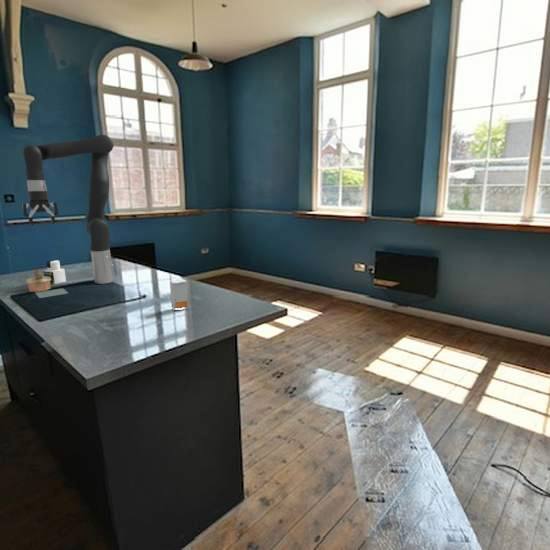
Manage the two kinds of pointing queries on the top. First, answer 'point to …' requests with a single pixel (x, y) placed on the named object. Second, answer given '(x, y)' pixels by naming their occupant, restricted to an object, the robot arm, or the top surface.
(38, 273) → the lid
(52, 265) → the medicine bottle
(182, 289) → the skincare box
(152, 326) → the top surface
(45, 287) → the bowl
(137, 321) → the top surface
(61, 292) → the mat
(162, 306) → the top surface
